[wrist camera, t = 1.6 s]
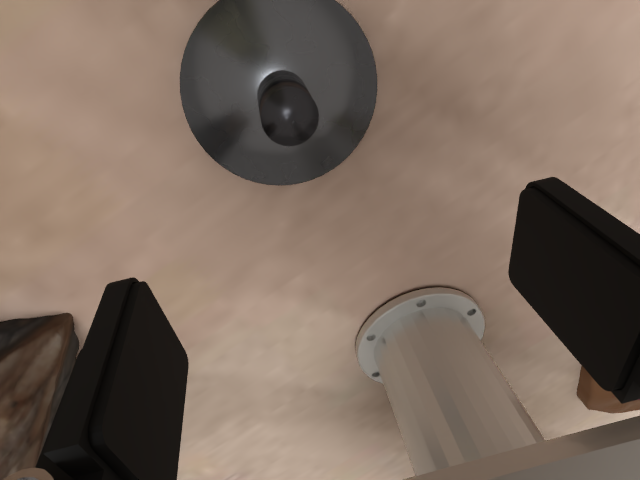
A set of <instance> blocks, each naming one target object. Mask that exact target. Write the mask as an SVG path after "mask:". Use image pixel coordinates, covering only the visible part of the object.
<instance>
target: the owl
mask: <svg viewBox="0 0 640 480" xmlns="http://www.w3.org/2000/svg"><path fill="white" fill-rule="evenodd" d="M78 349H79V341H78V338H77V336H76V334H75V332H74V323H73V317H72V315H71V314H69V313H64V314H60V315H54V316H44V317H37V318H30V319H13V320H8V321H5V322H0V480H3V479H4V478H6V477H7V476H9V475H11V474H13V473H16V472H18V471H20V470H23V469H28V468H34V467H36V464H37V462H38V459H39V456H40V454H41V451H42V448H43V446H44V443H45V441H46V438H47V435H48V433H49V430H50V428H51V425H52V422H53V420H54V417H55V414H56V412H57V409H58V407H59V404H60V401H61V399H62V396H63V394H64V391H65V388H66V386H67V383H68V381H69V378H70V375H71V373H72V370H73V367H74V365H75V362H76V360H77V359H76V353H77V351H78Z"/></svg>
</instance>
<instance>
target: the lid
mask: <svg viewBox="0 0 640 480" xmlns="http://www.w3.org/2000/svg"><path fill="white" fill-rule="evenodd" d="M180 94H181V100H182V106H183V109H184V113H185V116H186V119H187V121H188V124H189V126H190V128H191V131H192V132H193V134H194V136H195V137H196V139H197V141H198V142H199V143H200V145H201V146H202V147H203V149H204V150H205V151H206V152H207V153H208V154H209V155H210V156H211V157H212V158H213V159H214V160H215V161H216V162H217V163H219V164H220V165H221V166H222V167H224V168H225V169H227V170H229V171H230V172H232V173H233V174H235V175H238V176H240V177H242V178H244V179H247V180H250V181H253V182H257V183H262V184H267V185H292V184H297V183H302V182H306V181H309V180H312V179H315V178H317V177H319V176H322V175H324V174H325V173H327V172H329V171H331V170H332V169H334V168H335V167H336V166H338V165H339V164H340V163H342V162H343V161H344V160H345V159H346V158H347V157H348V156H349V155H350V154H351V153H352V151H353V150H354V149H355V148H356V147H357V145H358V144H359V142H360V141H361V139H362V138H363V136H364V134H365V132H366V130H367V128H368V126H369V124H370V121H371V118H372V115H373V112H374V108H375V103H376V95H377V73H376V66H375V61H374V57H373V54H372V50H371V48H370V45H369V43H368V40H367V38H366V36H365V35H364V33H363V31H362V29H361V28H360V26H359V25H358V23H357V22H356V21H355V19H354V18H353V17H352V16H351V14H350V13H349V12H348V11H347V10H346V9H344V8H343V7H342V6H341V5H340V4H339V3H338V2H336V1H335V0H219V1H218V2H217V3H216V4H215V5H213V6H212V7H211V8H210V9H209V10H208V11H207V12H206V14H205V15H204V16H203V17H202V19H201V20H200V21H199V22H198V24H197V26H196V28H195V29H194V31H193V33H192V34H191V36H190V39H189V41H188V43H187V46H186V48H185V51H184V55H183V59H182V63H181V72H180Z"/></svg>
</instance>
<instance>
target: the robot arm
mask: <svg viewBox="0 0 640 480" xmlns="http://www.w3.org/2000/svg"><path fill="white" fill-rule="evenodd" d="M509 278H510V280H511V283H512V284H513V285H514V287H515V288H516V289H517V290H518V291H519V292H520V294H521V295H522V296H523V297H524V298H525V299H526V301H527V302H528V303H529V304H530V305H531V306H532V308H533V309H534V310H535V311H536V312H537V313H538V315H539V316H540V317H541V318H542V319H543V320H544V322H545V323H546V324H547V325H548V326H549V328H550V329H551V330H552V331H553V332H554V333H555V335H556V336H557V337H558V338H559V339H560V340H561V342H562V343H563V344H564V345H565V346H566V347H567V349H568V350H569V351H570V352H571V353H572V354H573V356H574V357H575V358H576V359H577V360H578V361H579V363H580V364H581V365H582V366H583V367H584V368H585V370H586V371H587V372H588V373H589V374H590V375H591V377H592V378H593V379H594V380H595V381H596V382H597V384H598V385H599V386H600V387H601V388H602V389H604V390H605V391H611V392H612V393H613V394H614V396H615V397H616V398H617V399H618V400H619V401H620V402H621V404H623V403H627V402H631V401H634V400H638V399H640V234H638V233H637V232H636V231H634V230H633V229H631V228H630V227H628V226H627V225H625V224H624V223H622V222H621V221H619V220H618V219H617V218H615V217H614V216H612V215H611V214H609V213H608V212H606V211H605V210H603V209H602V208H600V207H599V206H597V205H596V204H595V203H593V202H592V201H590V200H589V199H587V198H586V197H584V196H583V195H581V194H580V193H578V192H577V191H575V190H574V189H573V188H571V187H570V186H568V185H567V184H565V183H564V182H562V181H561V180H559V179H558V178H555V177H550V178H546V179H542V180H537V181H533V182H530V183H528V184H527V186H526V188H525V190H523V191H522V192H521V193H520V197H519V204H518V211H517V217H516V224H515V231H514V237H513V244H512V251H511V257H510V264H509ZM484 330H485V319H484V316H483V313H482V311H481V309H480V308H479V306H478V305H477V303H476V302H475V301H474V300H473V299H472V298H471V297H470V296H468V295H467V294H465V293H463V292H461V291H458V290H455V289H451V288H441V287H438V288H426V289H421V290H416V291H412V292H410V293H407V294H404V295H401V296H399V297H397V298H395V299H393V300H391V301H389V302H388V303H386V304H385V305H384V306H382V307H381V308H379V309H378V310H377V311H376V312H375V313H374V314H373V315H372V316H371V317H369V319H368V320H367V321H366V323H365V324H364V325H363V326H362V328H361V330H360V332H359V334H358V337H357V341H356V345H355V346H356V356H357V359H358V363H359V365H360V367H361V369H362V371H363V372H364V373H365V374H366V375H367V376H368V377H370V378H371V379H373V380H374V381H377V382H380V383H382V384H384V387H385V390H386V393H387V396H388V399H389V401H390V404H391V407H392V410H393V413H394V416H395V418H396V421H397V424H398V427H399V430H400V433H401V435H402V438H403V441H404V444H405V447H406V450H407V452H408V455H409V458H410V461H411V464H412V466H413V469H414V472H415V475H416V476H414V477H411V478H407V479H403V480H640V416H637V417H633V418H629V419H625V420H622V421H618V422H614V423H610V424H607V425H603V426H599V427H596V428H592V429H588V430H584V431H581V432H577V433H573V434H569V435H566V436H562V437H558V438H554V439H551V440H547V441H545V439H544V438H543V436H542V435H541V433H540V431H539V430H538V428H537V427H536V425H535V424H534V422H533V421H532V419H531V418H530V416H529V415H528V413H527V411H526V410H525V408H524V407H523V405H522V404H521V402H520V401H519V399H518V398H517V396H516V395H515V393H514V391H513V390H512V388H511V387H510V385H509V384H508V382H507V381H506V379H505V378H504V376H503V374H502V373H501V371H500V370H499V368H498V367H497V365H496V364H495V362H494V361H493V359H492V358H491V356H490V354H489V353H488V351H487V350H486V348H485V347H484V345H483V344H482V342H481V339H482V337H483V334H484ZM187 375H188V357H187V354H186V352H185V350H184V348H183V346H182V344H181V343H180V341H179V339H178V337H177V336H176V334H175V332H174V330H173V328H172V327H171V325H170V323H169V321H168V320H167V318H166V316H165V314H164V313H163V311H162V309H161V307H160V305H159V304H158V302H157V300H156V298H155V297H154V295H153V293H152V291H151V290H150V288H149V286H148V285H147V283H146V282H144V281H142V282H139V281H138V280H137V279H136V278H129V279H124V280H120V281H116V282H112V283H109V284H107V286H106V288H105V291H104V293H103V296H102V299H101V301H100V304H99V306H98V309H97V312H96V314H95V317H94V320H93V322H92V325H91V328H90V330H89V333H88V336H87V338H86V341H85V343H84V346H83V349H82V350H81V351H80V353H79V355H78V357H77V360H76V362H75V365H74V367H73V370H72V373H71V375H70V378H69V381H68V383H67V386H66V388H65V391H64V394H63V396H62V399H61V401H60V404H59V407H58V409H57V412H56V414H55V417H54V420H53V422H52V425H51V428H50V430H49V433H48V435H47V438H46V441H45V443H44V446H43V448H42V451H41V454H40V456H39V459H38V462H37V464H36V467H34V468H28V469H23V470H20V471H18V472H16V473H13V474H11V475H9V476H7V477H6V478H4V479H3V480H177V471H178V461H179V452H180V442H181V433H182V423H183V413H184V404H185V394H186V385H187Z"/></svg>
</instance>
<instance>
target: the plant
mask: <svg viewBox="0 0 640 480" xmlns="http://www.w3.org/2000/svg"><path fill="white" fill-rule="evenodd" d="M577 396H578V397H579V398H580V400H581V401H582V402H583V404H584V405H585V406H586V407H587V409H589V410H597V411H603V412H608V413H623V412H628V411H633V410H640V399H638V400H634V401H631V402H627V403H623V404H621V402H620V401H619V400H618V399H617V398H616V397H615V396H614V394H613V393H612V392H611V391H605V390H604V389H602V388H601V387H600V386H599V385H598V384H597V382H596V381H595V380H594V379H593V378H592V377H591V375H590V374H589V373H588V372H587V371H586V370H585V368H584V367H583V366H582V367H581V372H580V379H579V384H578V388H577Z"/></svg>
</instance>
